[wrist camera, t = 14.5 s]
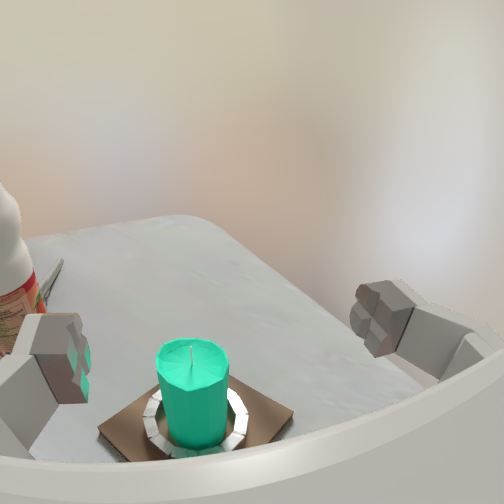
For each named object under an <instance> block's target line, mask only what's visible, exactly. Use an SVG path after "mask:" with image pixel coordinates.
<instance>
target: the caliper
mask: <svg viewBox="0 0 504 504" xmlns="http://www.w3.org/2000/svg"><path fill="white" fill-rule="evenodd" d="M63 262H64V260H63V259H57V261H56V262H55V263H54V265H53V266H52V268H51V269H50V271H49V272H48V274H47V275H46V277H45V278H44V279H42V280H41V281H40V283H37V284H38V287H39V291H40V294H41V298H42V301H43V304H44V307H45V310H46V313H47V309H46V301H45V298H47V297H48V295H49V294H50V290H49V288H50V286H51V285H52V283H53V281H54V279H55V278H56V276H57V274H58V273H59V271H60V269H61V268H62V265H63Z"/></svg>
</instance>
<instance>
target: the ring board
mask: <svg viewBox="0 0 504 504" xmlns="http://www.w3.org/2000/svg"><path fill="white" fill-rule="evenodd" d="M228 389H230V390H231V391H233V392H235V393H236V394H237V396H239V397H240V399H241V401H242V403H243V405H244V407H245V408H246V410H247V412H248V422H247V429H246V436H245V442H244V444H243V445H242V446H241V448H240V449H245V448H250V447H255V446H259V445H264V444H268V443H271V441H272V440H273V439H274V438H275V437H276V436H277V434H278V433H279V432H280V431H281V430H282V428H283V427H284V426H285V425H286V423H287V422H288V421H289V420H290V419H291V417H292V416H293V412H294V411H292V410H290V409H288V408H286V407H284V406H283V405H281V404H279V403H277V402H275V401H273V400H272V399H270V398H268V397H266V396H264V395H263V394H261V393H259V392H257V391H256V390H254V389H252V388H251V387H249V386H247V385H245V384H244V383H242V382H240V381H239V380H237V379H235V378H234V377H232V376H230V375H229V378H228ZM159 390H160V385H159V384H158V385H156V386H155V387H154V388H152V389H151V390H150V391H148V392H147V393H145V394H144V395H143V396H141V397H140V398H138V399H137V400H135V401H134V402H133V403H131V404H130V405H128V406H127V407H126V408H124V409H123V410H121V411H120V412H118V413H117V414H116V415H114V416H113V417H111V418H110V419H108V420H107V421H105V422H104V423H102V424H101V425H99V426H98V429H99V431H100V433H101V434H102V435H103V436H104V437H105V438H106V439H107V440H108V441H109V442H110V443H111V444H112V445H113V446H114V447H115V448H116V449H117V450H118V451H119V452H120V453H121V454H122V455H123V456H124V457H125V458H126V459H127V460H128V461H129V462H146V461H159V460H167V459H166V458H164V457H163V456H162V455H161V454H160V453H159V452H157V451H156V450H155V449H154V448H153V447H152V445H151V444H150V441H149V439H148V435H147V432H146V428H145V425H144V421H143V414H144V411H145V409H146V406H147V404H148V401H149V399H150V398H152V397H151V396H152V395H153V394H155V393H156V392H157V391H159ZM234 426H235V420H234V419H233V417H232V415H231V413H230V411H229V409H228V408H227V426H226V432H225V434H224V437H223V440H222V441H221V442H220V443H218V444H217V445H216V446H219V445H220V444H221V443H223V442H224V441H225V440H226V439H227V438H228V437H229V436H230V435H231V434H232V433H233V432H234ZM157 427H158V431H159V434H160V435H162V436H163V437H164V438H165V439H166V440H168V441H169V442H170V443H171V444H173V445H174V446H175V447H179V448H183V447H180V446H179V445H178V444H177V443H176V442H175V441H174V440H173V439H172V438H171V436H170V432H169V428H168V423H167V419H166V414H165V410H164V408H163V409H162V411H161V414H160V417H159V419H158V422H157ZM216 446H214V447H216ZM184 449H186V448H184ZM240 449H239V450H240Z"/></svg>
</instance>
